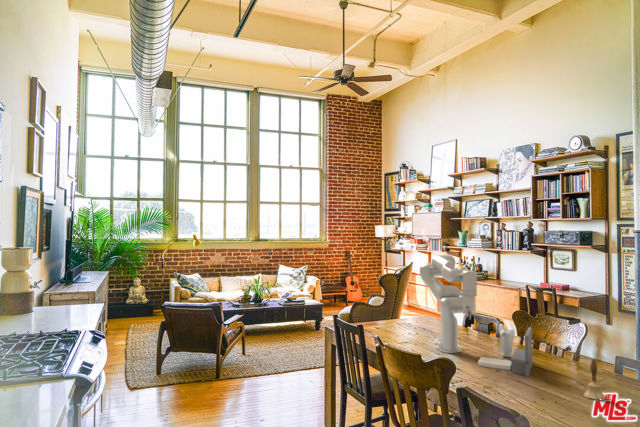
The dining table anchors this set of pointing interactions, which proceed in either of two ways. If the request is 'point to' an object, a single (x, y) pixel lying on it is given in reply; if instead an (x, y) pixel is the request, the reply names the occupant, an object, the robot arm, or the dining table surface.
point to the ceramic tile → (495, 363)
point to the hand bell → (594, 385)
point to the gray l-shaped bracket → (523, 356)
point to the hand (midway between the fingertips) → (469, 325)
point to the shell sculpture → (506, 340)
